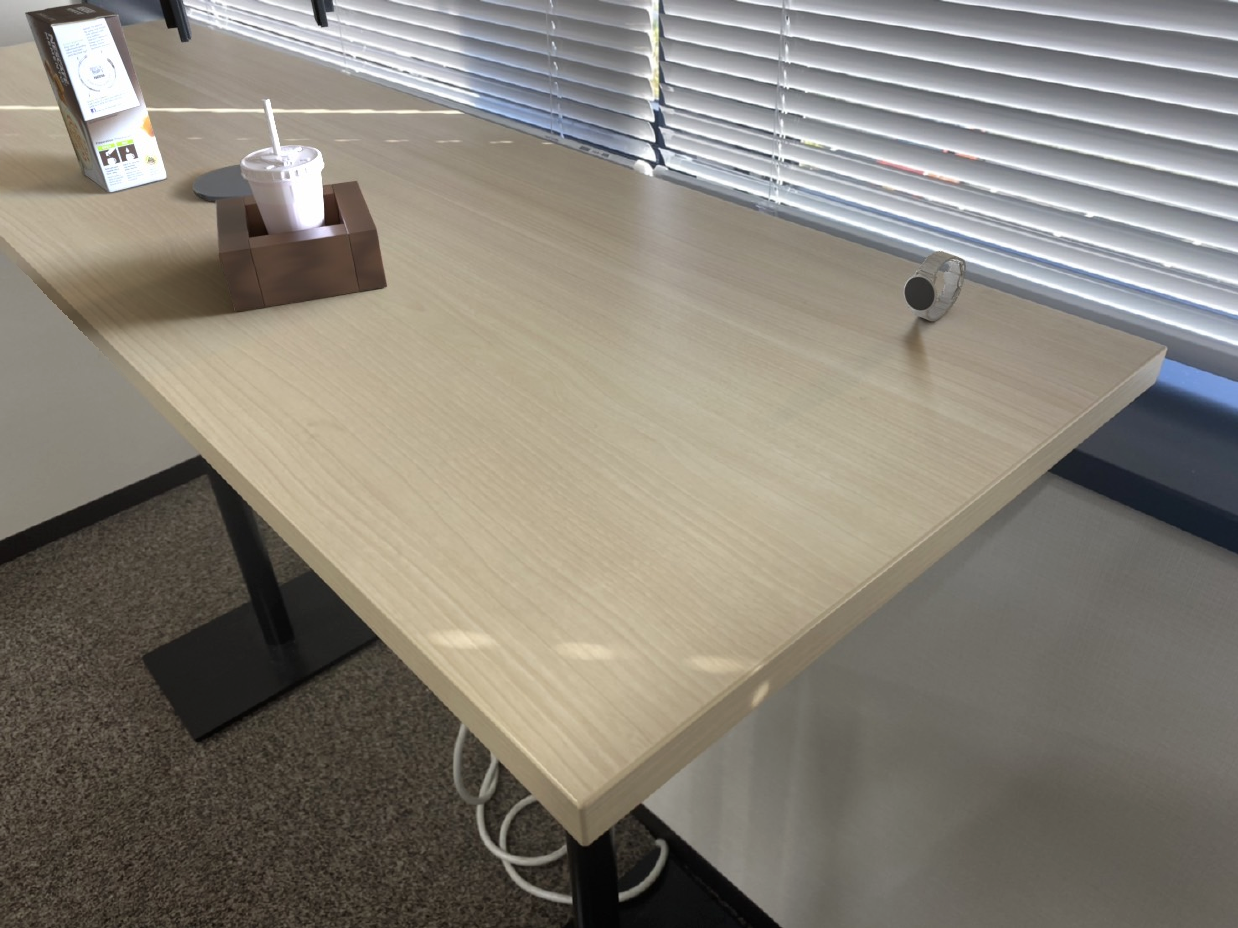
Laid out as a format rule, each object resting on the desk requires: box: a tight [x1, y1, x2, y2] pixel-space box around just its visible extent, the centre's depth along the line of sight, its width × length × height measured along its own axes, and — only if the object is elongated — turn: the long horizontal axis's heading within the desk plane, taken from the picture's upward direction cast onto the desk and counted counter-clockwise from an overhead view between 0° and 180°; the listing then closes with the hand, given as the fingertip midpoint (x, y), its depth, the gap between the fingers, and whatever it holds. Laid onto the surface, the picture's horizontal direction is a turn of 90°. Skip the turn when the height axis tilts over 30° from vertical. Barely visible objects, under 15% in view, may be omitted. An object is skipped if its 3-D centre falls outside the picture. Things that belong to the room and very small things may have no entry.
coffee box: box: [24, 2, 168, 193], centre depth 98 cm, size 9×6×16 cm
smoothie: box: [239, 98, 325, 235], centre depth 79 cm, size 6×6×14 cm
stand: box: [215, 180, 388, 313], centre depth 81 cm, size 12×12×5 cm
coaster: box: [192, 163, 253, 203], centre depth 100 cm, size 10×10×1 cm
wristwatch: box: [903, 250, 967, 322], centre depth 72 cm, size 3×5×5 cm, turn 132°
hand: (255, 31), depth 71 cm, fingers open, 9 cm apart
